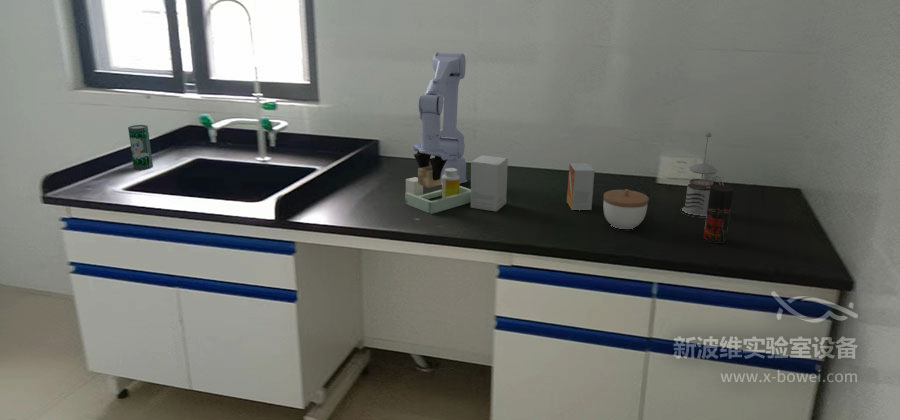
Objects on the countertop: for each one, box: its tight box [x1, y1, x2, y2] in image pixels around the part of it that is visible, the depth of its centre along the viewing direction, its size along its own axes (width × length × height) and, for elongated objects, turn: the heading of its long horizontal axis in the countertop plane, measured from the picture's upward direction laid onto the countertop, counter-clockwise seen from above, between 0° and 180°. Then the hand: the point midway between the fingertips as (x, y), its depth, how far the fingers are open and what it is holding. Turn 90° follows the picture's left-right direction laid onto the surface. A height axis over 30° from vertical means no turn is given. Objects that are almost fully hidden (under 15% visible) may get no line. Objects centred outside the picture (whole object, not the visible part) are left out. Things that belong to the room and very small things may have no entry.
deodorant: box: [702, 184, 735, 242], centre depth 190 cm, size 6×6×15 cm
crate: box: [404, 185, 471, 215], centre depth 218 cm, size 18×12×4 cm
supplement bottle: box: [441, 168, 461, 198], centre depth 219 cm, size 6×6×10 cm
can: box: [127, 124, 154, 171], centre depth 249 cm, size 6×6×15 cm
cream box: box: [405, 176, 424, 196], centre depth 226 cm, size 4×4×5 cm
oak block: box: [417, 165, 442, 189], centre depth 213 cm, size 5×5×5 cm
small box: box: [566, 162, 596, 212], centre depth 215 cm, size 8×6×13 cm
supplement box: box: [470, 154, 509, 212], centre depth 214 cm, size 9×9×15 cm
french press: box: [681, 132, 724, 216], centre depth 209 cm, size 10×12×25 cm
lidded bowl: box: [602, 188, 650, 230], centre depth 200 cm, size 13×13×11 cm
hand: (430, 177), depth 213 cm, fingers closed on oak block, 5 cm apart
